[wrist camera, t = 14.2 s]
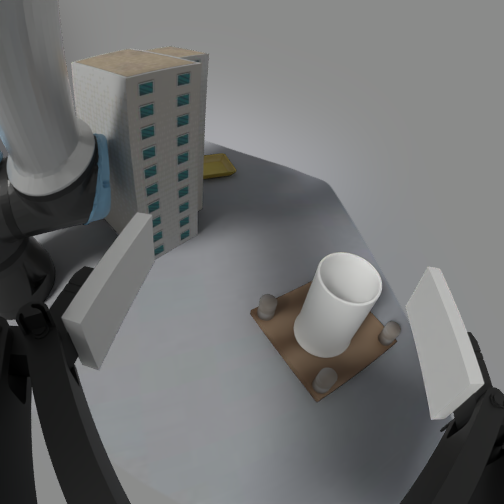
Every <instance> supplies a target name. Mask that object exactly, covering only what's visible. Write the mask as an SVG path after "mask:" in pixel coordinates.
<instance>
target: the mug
mask: <svg viewBox="0 0 504 504" xmlns="http://www.w3.org/2000/svg"><path fill="white" fill-rule="evenodd" d="M381 291H382V281H381V277H380V275H379V273H378V272H377V270H376V269H375V268H374V267H373V266H372V265H371V264H370V263H369V262H368V261H366V260H365V259H363V258H361V257H359V256H357V255H354V254H351V253H345V252H337V253H332V254H329V255H327V256H326V257H324V258H323V259H322V260H321V261H320V263H319V265H318V268H317V270H316V273H315V276H314V278H313V281H312V284H311V286H310V289H309V291H308V294H307V297H306V299H305V302H304V304H303V307H302V309H301V312H300V314H299V315H298V316H297V318H296V320H295V323H294V335H295V338H296V340H297V342H298V343H299V345H300V346H301V347H302V348H303V349H304V350H305V351H307V352H308V353H310V354H312V355H314V356H317V357H322V358H331V357H335V356H338V355H340V354H341V353H343V352H344V351H345V350H346V349H347V348H348V346H349V344H350V342H351V339H352V338H353V336H354V335H355V333H356V332H357V330H358V329H359V327H360V326H361V324H362V323H363V321H364V320H365V318H366V317H367V315H368V313H369V312H370V310H371V309H372V307H373V306H374V304H375V303H376V301H377V299H378V298H379V296H380V294H381Z"/></svg>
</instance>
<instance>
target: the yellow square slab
mask: <svg viewBox="0 0 504 504" xmlns="http://www.w3.org/2000/svg"><path fill="white" fill-rule="evenodd" d="M235 172H236V169H235V167H234V166H233V165H232V163H231V162H230V160H229V159H228V158H227V156H226V155H225V154H213V155H204V162H203V179H208V178H215V177H222V176H230V175H232V174H233V173H235Z"/></svg>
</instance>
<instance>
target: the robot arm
mask: <svg viewBox="0 0 504 504" xmlns="http://www.w3.org/2000/svg"><path fill="white" fill-rule="evenodd" d="M0 137H1V139H2V141H3V143H4V145H5V147H6V149H7V151H8V153H9V155H8V157H6V158H3V153H2V152H1V151H0V504H37V497H36V490H35V481H34V471H33V458H32V438H31V393H32V389H33V394H34V399H35V404H36V408H37V412H38V416H39V420H40V424H41V428H42V431H43V435H44V439H45V442H46V445H47V449H48V452H49V455H50V458H51V461H52V464H53V467H54V470H55V473H56V476H57V479H58V481H59V484H60V486H61V489H62V492H63V494H64V497H65V499H66V502H67V504H131V503H130V501H129V499H128V498H127V496H126V494H125V492H124V490H123V488H122V486H121V484H120V482H119V480H118V477H117V476H116V473H115V471H114V469H113V467H112V465H111V462H110V460H109V458H108V456H107V453H106V451H105V448H104V446H103V444H102V441H101V439H100V436H99V434H98V431H97V429H96V426H95V423H94V421H93V418H92V415H91V413H90V410H89V407H88V404H87V401H86V398H85V395H84V392H83V389H82V386H81V383H80V379H79V376H78V373H77V369H76V367H75V365H74V363H75V361H76V359H77V358H78V357H79V359H80V361H81V363H82V365H85V366H88V367H91V368H94V369H97V370H99V369H100V367H101V365H102V363H103V361H104V359H105V357H106V355H107V353H108V351H109V348H110V346H111V344H112V342H113V340H114V338H115V336H116V334H117V332H118V330H119V328H120V326H121V324H122V322H123V320H124V318H125V316H126V315H127V313H128V311H129V309H130V307H131V305H132V303H133V301H134V299H135V297H136V295H137V294H138V292H139V290H140V288H141V286H142V284H143V282H144V281H145V279H146V277H147V275H148V273H149V271H150V270H151V268H152V266H153V264H154V262H155V258H154V242H153V222H152V215H151V214H145V213H139V212H137V213H136V214H135V215H134V217H133V218H132V219H131V221H130V222H129V223H128V224H127V226H126V227H125V228H124V229H123V231H122V232H121V233H120V235H119V236H118V237H117V239H116V240H115V241H114V243H113V244H112V245H111V247H110V248H109V249H108V251H107V252H106V253H105V255H104V256H103V257H102V259H101V260H100V261H99V263H98V264H97V266H96V267H95V268H90V267H86V266H85V267H83V268H82V269H80V270H79V271H77V272H76V273H75V274H74V275H73V277H72V278H71V279H70V281H69V283H68V284H67V285H66V286H65V288H64V289H63V291H62V292H61V293H60V295H59V296H58V297H57V299H56V300H55V302H54V303H53V305H52V306H51V308H50V309H48V306H47V305H46V304H45V303H43V301H44V300H45V298H46V297H47V296H48V294H49V292H50V290H51V288H52V286H53V283H54V279H55V268H54V265H53V262H52V260H51V258H50V256H49V254H48V252H47V251H46V250H45V249H44V248H43V247H42V246H41V245H40V244H39V243H38V242H37V241H36V239H35V238H34V237H33V236H35V235H39V234H43V233H47V232H51V231H55V230H59V229H63V228H68V227H72V226H76V225H81V224H83V225H88V224H89V223H90V222H93V221H97V220H100V219H103V218H105V217H106V216H107V215H108V214H109V212H110V209H111V188H110V182H109V181H110V169H109V155H108V144H107V139H106V136H105V135H103V134H97V133H95V134H93V132H92V130H91V128H90V127H89V125H88V124H87V123H85V122H84V121H83V120H81V119H79V118H77V117H76V113H75V108H74V104H73V99H72V94H71V89H70V83H69V78H68V73H67V66H66V60H65V54H64V47H63V40H62V31H61V22H60V12H59V1H58V0H0ZM405 307H406V310H407V314H408V318H409V322H410V325H411V329H412V333H413V337H414V341H415V345H416V349H417V353H418V357H419V361H420V366H421V370H422V375H423V380H424V384H425V389H426V395H427V400H428V405H429V411H430V417H431V420H433V419H445V418H447V417H448V416H449V415H450V414H451V413H454V417H455V418H454V419H453V420H452V421H450V422H449V423H448V424H447V425H445V426H444V427H443V428H442V429H441V430H440V431H441V432H442V431H444V430H445V429H446V431H445V433H444V435H443V437H442V439H441V440H440V442H439V444H438V446H437V448H436V449H435V451H434V453H433V454H432V456H431V458H430V459H429V461H428V463H427V464H426V466H425V467H424V469H423V471H422V472H421V474H420V475H419V477H418V478H417V480H416V481H415V483H414V484H413V486H412V487H411V489H410V490H409V492H408V493H407V494H406V496H405V497H404V499H403V500H402V501H401V503H400V504H504V394H503V393H502V392H501V391H500V390H499V389H497V388H493V386H492V384H491V380H490V377H489V374H488V371H487V368H486V365H485V362H484V360H483V356H482V353H480V351H481V350H480V348H479V345H478V342H477V340H476V339H475V338H474V336H473V335H472V333H471V332H467V331H466V328H465V326H464V323H463V321H462V318H461V315H460V313H459V311H458V308H457V306H456V303H455V301H454V299H453V296H452V294H451V292H450V289H449V287H448V285H447V283H446V281H445V278H444V276H443V274H442V272H441V270H440V269H438V268H434V267H429V266H428V267H427V269H426V271H425V273H424V274H423V276H422V278H421V280H420V282H419V284H418V286H417V288H416V289H415V291H414V293H413V294H412V296H411V298H410V299H409V301H408V303H407V304H406V306H405ZM10 319H16V322H17V324H18V326H9V324H8V322H7V320H10Z"/></svg>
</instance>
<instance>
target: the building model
mask: <svg viewBox="0 0 504 504" xmlns="http://www.w3.org/2000/svg"><path fill="white" fill-rule="evenodd" d="M208 60H209V54H208V53H204V52H199V51H194V50H188V49H183V48H178V47H172V46H169V47H163V48H156V49H150V50H145V51H141V50H136V49H124V50H119V51H115V52H110V53H106V54H101V55H97V56H94V57H90V58H86V59H82V60H78V61H75V62H72V63H71V65H72V77H73V87H74V96H75V104H76V111H77V118H79V119H81V120H83V121H84V122H85V123H87V124H88V125H89V127H90V128H91V130H92V132H93V134H95V133H97V134H103V135H105V136H106V139H107V144H108V155H109V169H110V181H109V182H110V188H111V209H110V212H109V214H108V215H107V216H106V217H105V218H104V219H105V220H106V221H107V222H108V223H109V224H110V225H111V226H112V228H113V229H114V230H115V231H116V232H117V233H118V234H119V235H120V233H121V232H122V231H123V229H124V228H125V227H126V226H127V224H128V223H129V222H130V221H131V219H132V218H133V217H134V215H135V214H136V213H137V212H139V213H145V214H151V215H152V222H153V242H154V258H155V259H157V258H159V257H160V256H162V255H164V254H165V253H167V252H169V251H171V250H172V249H174V248H176V247H177V246H179V245H181V244H182V243H184V242H186V241H188V240H189V239H191V238H193V237H194V236H196V235H198V211H199V210H201V209H203V162H204V133H205V131H204V130H205V109H206V90H207V74H208Z"/></svg>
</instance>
